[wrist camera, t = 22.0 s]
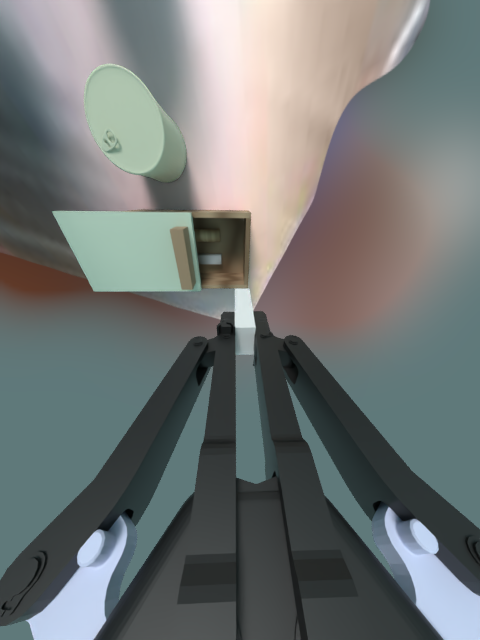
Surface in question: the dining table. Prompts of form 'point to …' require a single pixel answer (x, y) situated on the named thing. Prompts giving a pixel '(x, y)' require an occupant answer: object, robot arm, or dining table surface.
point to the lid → (134, 249)
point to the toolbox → (220, 246)
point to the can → (132, 125)
